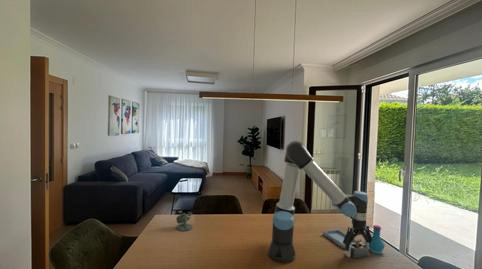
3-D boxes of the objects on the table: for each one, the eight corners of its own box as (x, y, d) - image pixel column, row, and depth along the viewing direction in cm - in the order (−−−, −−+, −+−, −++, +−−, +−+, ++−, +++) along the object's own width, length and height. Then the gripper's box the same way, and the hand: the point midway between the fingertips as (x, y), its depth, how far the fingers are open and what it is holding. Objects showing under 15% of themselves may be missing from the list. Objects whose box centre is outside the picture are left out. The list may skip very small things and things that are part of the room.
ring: (354, 258, 137) (354, 249, 137) (344, 251, 144) (344, 242, 144) (367, 256, 140) (368, 246, 140) (357, 249, 148) (357, 240, 147)
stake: (356, 255, 140) (357, 241, 140) (353, 254, 142) (354, 239, 142) (361, 254, 142) (362, 240, 141) (358, 253, 143) (359, 238, 143)
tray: (344, 249, 147) (344, 245, 147) (322, 234, 166) (323, 231, 166) (360, 246, 152) (361, 242, 152) (337, 232, 171) (338, 229, 170)
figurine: (186, 232, 160) (186, 214, 160) (172, 229, 164) (173, 211, 164) (195, 226, 170) (195, 209, 169) (182, 223, 174) (182, 207, 173)
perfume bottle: (384, 256, 141) (385, 231, 140) (366, 251, 146) (367, 226, 145) (384, 249, 149) (386, 225, 148) (367, 245, 154) (369, 222, 153)
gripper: (347, 223, 133) (345, 260, 134) (380, 218, 142) (378, 254, 142) (337, 218, 140) (335, 254, 141) (369, 214, 149) (367, 248, 149)
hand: (357, 254), depth 142 cm, fingers open, 13 cm apart
